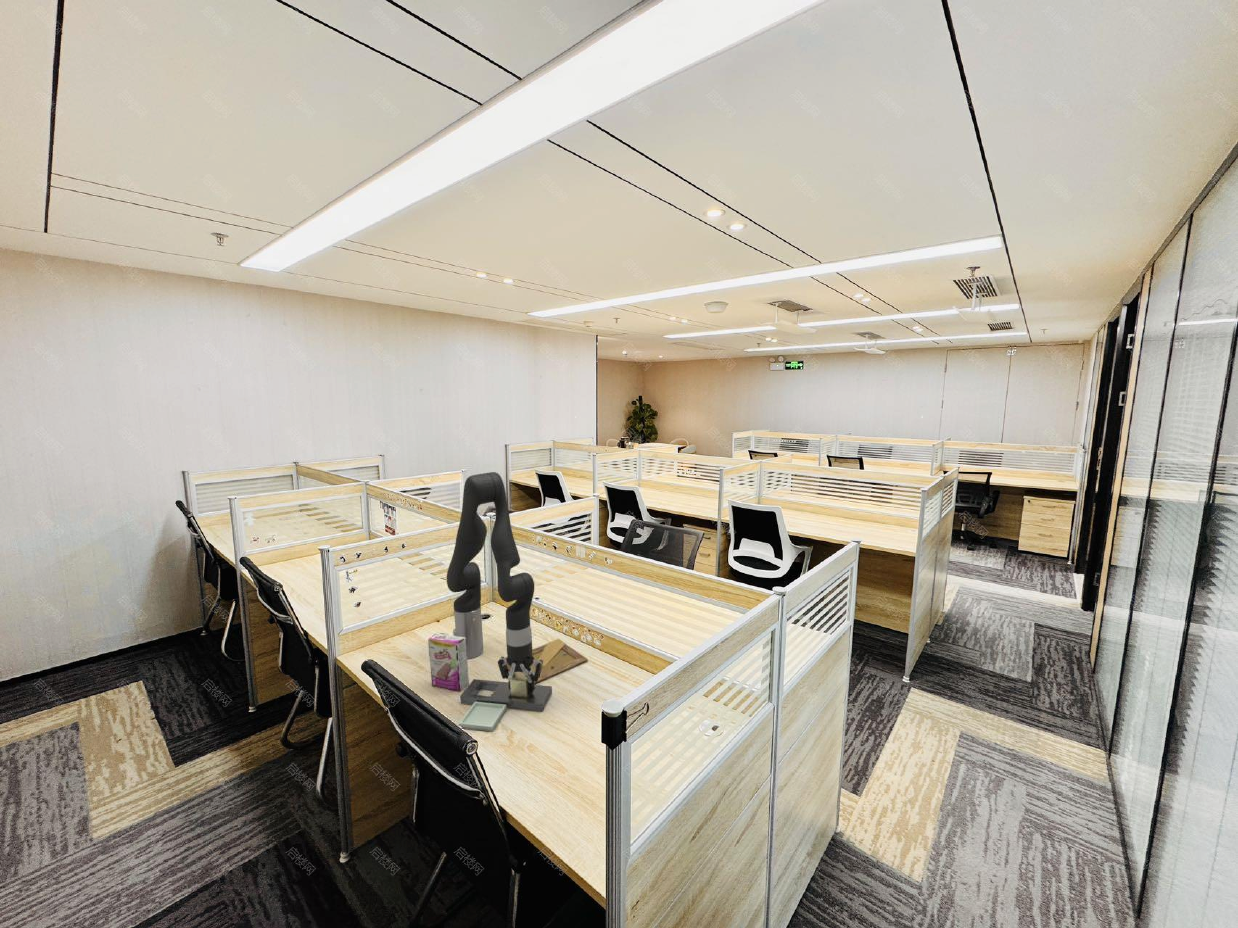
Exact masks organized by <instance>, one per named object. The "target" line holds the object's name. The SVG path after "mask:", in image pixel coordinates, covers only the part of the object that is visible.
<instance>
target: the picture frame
mask: <svg viewBox="0 0 1238 928" xmlns="http://www.w3.org/2000/svg"><path fill="white" fill-rule="evenodd" d="M532 655H533V657H534V660H537V661H539V660H542V661H543V664H542V669H541V674H540V677H539V679H538V681H537V682H535V681H534V685H539V684H540V683H543V682H545V681H547V680H549V679H551V678H552V679H553V678H554V677H556V676H558V675H562V674H563V673H566V672H567V671H570V670H572V669H574V668H576V667H579V666H582V665H584V664H586V663H588V661H589V660H588V658H587V657H585V656H584V655H583V654H581V653H579V652H578V651H577V650H575V649H573V648H572V647H571V646H569V645H568V644H566V642H564V641H563V640H561V639H560V638H557V639H554V640H552V641H549V642H547V643H545V644H543V645H541V646H538V647H535V648H532ZM506 665H507V668H508V671H509V672H510V669H511V667H510V666H509V664H508V663H507V664H506ZM531 667H532V669H533V674H534V675H535V670H536V669H535V667H534V664H532V665H531Z"/></svg>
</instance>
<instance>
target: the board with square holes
mask: <svg viewBox="0 0 1238 928" xmlns="http://www.w3.org/2000/svg"><path fill="white" fill-rule="evenodd" d="M481 690H482V691H492V693H491V695H483V694H482V695H481V694H478V693H479V692H480V691H481ZM552 695H553V688H552V685H541V684H536V685H534V690H533V693H532V694H531V696H530V698H529V699H528V700H524V699H514V698H511V690H509V681H500V680H499V681H498V680H486V679H477V678H476V679H475V678H474V679H472V680H471V682H469V684H468V685H467V686H466V687H465V688H464V691H463V692H461V694H460V695H459V698H460V699H459V700H460V701H459V702H460V704H461V705H462V704H463V705H471V706H472V705H473V704H474V702H484V703H494V704H504V705H506V707H507V709H511V710H521V711H528V712H529V711H530V712H540V713H541V712H544V710H545V708H546V706H547V704H548V702H549V701H550V699H551V697H552Z"/></svg>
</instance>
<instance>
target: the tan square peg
mask: <svg viewBox="0 0 1238 928" xmlns="http://www.w3.org/2000/svg"><path fill="white" fill-rule="evenodd" d="M510 688H511V698H514V699H524V700H528V699H529V698H530V696H531V694H532V693H533V692H532V693H531V694H528V680H527V678H526V677H525V675H524V673H522V672H515V674H514V675H513V677H512V678H511V679H510Z"/></svg>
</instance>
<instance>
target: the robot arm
mask: <svg viewBox="0 0 1238 928" xmlns="http://www.w3.org/2000/svg"><path fill="white" fill-rule="evenodd" d="M463 486H464V487H463V494H462V495H463V496H462V504H461V505H462V507H461V514H460V520H459V524H458V527H457V531H456V532H457V533H456V536H455V543H454V548H453V549H454V550H453V553H452V557H451V560H450V562H449V566H448V569H447V571H446V585H447V587H448V589H449V591H450V592H452V593H461V592H463V593H462V594H460V596H459V597H457V598H456V599H454V601H453V614H454V615H453V616H454V629H453V631H452V633H453V634H452V635H454V636H460V637H465V638H466V650H467V660H469V659H474V658H477V657H479V656H480V655H482V654H483V653H484V648H485V647H484V636H483V635H484V634H483V621H482V605H481V603H482V602H481V601H482V584H481V583H482V577H481V569H480V567H479V565H478V564H477V563H476V562H474V561H472V560H474V559H475V557H477V555H479V553H480V552H481V551H482V550H483V548H484V546H485V543H486V538H487V533H488V528H487V526H486V523H485V521H484V520H483V519H482V517H481V516H480V515H479V514H478V508H479V506H480V505H484V504H489V503H493V504H494V507H495V518H494V523H493V527H492V532H491V536H490V545H491V546H490V548H491V550H492V554H493V556H494V558H493V559H494V560H495V564H496V573H497V575H496V576H497V592H498V596H499V597H500V599H501V600H502V601H504V602H506V603H511V602H513V603H512V604H511V605H509V606H508V607H507V608H506V610H505V625H506V626H505V627H506V629H505V640H506V654H507V656H506V657H504V656H501V657H500V658H499V659H498V661H497V666H498V668H499V672H500V675H501V678H502V679H506V680H507V682H509V690H511V688H510V679H511V678H512V677H513V675H514V674H515V672H522V673H524V675H525V677H526V678H527V680H528V694H531V693H532V692H533V690H534V681H535V682H537V681H538V679H539V677H540V674H541V669H542V664H543V661H542V660H539V661H537V660H534V657H533V655H532V649H533V634H532V626H531V614H530V613H531V612H530V611H531V607H532V603H533V598H534V594H535V581H534V578H533V577H532V575H531V574H530V573H528V572H521V573H516V574H514V575H511V570H512V569H513V568H515V567H517V566H518V565H519V564H520V563H521V558H520V554H519V550H518V548H517V544H516V542H515V538H514V534H513V529H512V524H511V517H510V512H509V505H508V499H507V493H506V488H505V484H504V481H503V478H502V477H501V475H500V474H499V473H498V472H495V471H491V472H484V473H478V474H473V475H469V476H468V477H467V478H466V480H465V482H464V485H463ZM507 663H508V664H509V666H510V667H511V669H510V672H509V671H508V668H507V665H506V664H507ZM532 664H534V667H535V669H536V670H535V675H534V674H533V669H532V667H531V665H532Z"/></svg>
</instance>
